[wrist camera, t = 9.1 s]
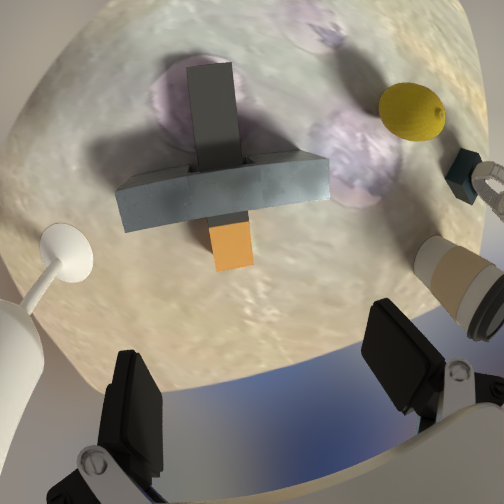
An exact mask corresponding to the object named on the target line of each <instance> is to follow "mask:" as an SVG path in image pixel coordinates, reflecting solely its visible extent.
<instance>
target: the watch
mask: <svg viewBox="0 0 504 504" xmlns="http://www.w3.org/2000/svg"><path fill="white" fill-rule="evenodd" d="M490 178H491V179H494V180H496V181H498V182H499V183H501V184H502V185H504V180H503V179H504V167H503V166H501V165H499V164H496V163H494V162H491V161H485V162H482V160H481V157H480V155H479V153H476V152H473V151H470V150H466V149H463V148H461V150H460V152H459V154H458V155H457V157H456V159H455V161H454V163H453V165H452V167H451V168H450V170H449V172H448V174H447V176H446V177H445V180H446V182H447V183H448V185H449V187H450V188H451V190H452V192H453V193H454V195H455V197H456V198H458V199H460V200H462V201H464V202H466V203H468V204H470V205H473V203H474V201H475V199H476V197H477V196H478V195H479V196H480V198H481V199H482V200H483V201H485V203H486V204H487V205H490V207H491V208H492V211H493V212H494V213H495V214H496V215H497V216H498V217H499V218H500V220H501V221H502V222H503V223H504V191H503V192H500V194H498V193H496V192H495V191H494V190H493V189H491V187H490V186H489V185H487V183H486V182H485V180H489V179H490ZM487 190H488V191H487ZM486 192H487V193H486ZM495 193H496V194H495ZM485 194H486V195H485ZM492 194H493V195H492ZM484 196H485V197H484ZM491 196H492V197H491ZM485 199H486V200H485ZM490 203H491V204H490Z"/></svg>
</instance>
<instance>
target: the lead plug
mask: <svg viewBox="0 0 504 504" xmlns="http://www.w3.org/2000/svg"><path fill="white" fill-rule="evenodd" d="M187 78H188V87H189V96H190V104H191V112H192V120H193V128H194V136H195V143H196V150H197V157H198V164H199V171H205V170H212V169H218V168H224V167H231V166H238V165H243V162H242V153H241V144H240V135H239V126H238V117H237V108H236V99H235V89H234V80H233V71H232V62H227V63H217V64H208V65H200V66H193V67H187ZM207 221H208V227H209V232H210V238H211V244H212V249H213V255H214V260H215V265H216V271H217V272H218V271H223V270H229V269H235V268H240V267H246V266H251V265H254V263H253V253H252V244H251V235H250V226H249V217H248V210H247V211H241V212H235V213H229V214H223V215H217V216H211V217H207Z"/></svg>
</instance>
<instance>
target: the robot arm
mask: <svg viewBox="0 0 504 504" xmlns="http://www.w3.org/2000/svg"><path fill="white" fill-rule="evenodd" d="M361 354H362V356H363V358H364V359H365V361H366V363H367V364H368V366H369V367H370V369H371V370H372V372H373V373H374V375H375V376H376V378H377V379H378V381H379V382H380V384H381V385H382V387H383V388H384V390H385V391H386V393H387V394H388V396H389V397H390V399H391V401H392V402H393V404H394V405H395V407H396V408H397V410H398V411H402V413H403V414H404V415H407V414H409V413H411V412H413V411H414V410H415V412H416V413H417V420H416V426H415V431H414V436H413V437H412V438H410V439H409V440H407V441H405V442H403V443H401V444H400V445H398V446H396V447H394V448H392V449H390V450H388V451H386V452H384V453H382V454H380V455H378V456H376V457H373V458H371V459H369V460H366V461H364V462H362V463H360V464H357V465H355V466H352V467H350V468H348V469H345V470H342V471H339V472H337V473H334V474H331V475H328V476H325V477H322V478H319V479H316V480H313V481H310V482H306V483H303V484H299V485H296V486H292V487H288V488H284V489H280V490H276V491H271V492H266V493H261V494H256V495H250V496H244V497H237V498H231V499H222V500H213V501H200V502H185V503H168V502H167V501H166V500H165V499H164V498H163V497H162V496H161V495H160V494H159V493H158V492H157V491H156V490H155V489H154V488H153V487H152V486H151V485H152V477H160V472H162V471H163V438H162V402H163V401H162V395H161V392H160V390H159V389H158V387H157V385H156V383H155V381H154V380H153V378H152V376H151V374H150V372H149V370H148V369H147V367H146V365H145V363H144V361H143V359H142V357H141V355H140V353H136V352H135V351H134V350H123V351H119V352H118V356H117V360H116V365H115V370H114V375H113V380H112V384H109V385H108V386H107V388H106V392H105V398H104V403H103V409H102V416H101V421H100V428H99V436H98V443H97V446H96V445H92V446H88V447H85V448H84V449H83V450H82V451H80V453H79V455H78V457H77V467H78V468H77V469H76V470H75V471H73V472H72V473H71V474H69V475H68V476H67V477H65V478H64V479H63V480H62V481H60V482H59V483H57V484H56V485H55V486H53V487H52V488H51V489H50V490H49V491H48V493H47V498H46V500H47V504H504V378H502V377H499V376H493V375H487V374H481V373H476V372H474V370H473V367H472V366H471V364H470V363H469V362H468V361H466V360H464V359H462V358H453V359H450V360H449V361H448V362H447V363H446V362H445V361H444V360H445V359H444V357H443V356H442V355H441V354H440V353H439V352H438V350H437V349H436V348H435V347H434V346H433V345H432V344H431V343H430V342H429V341H428V340H427V338H426V337H425V336H424V335H423V334H422V333H421V332H420V331H419V330H418V329H417V327H416V326H415V325H414V324H413V323H412V322H411V321H410V320H409V319H408V318H407V317H406V316H405V315H404V314H403V313H402V312H401V311H400V310H399V309H398V307H397V306H396V305H395V304H394V303H393V302H392V301H391V300H390V299H388V298H384V299H381V300H377V301H375V302H374V303H373V306H371V308H370V313H369V317H368V322H367V327H366V331H365V335H364V340H363V344H362V348H361Z"/></svg>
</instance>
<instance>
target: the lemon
mask: <svg viewBox="0 0 504 504" xmlns="http://www.w3.org/2000/svg"><path fill="white" fill-rule="evenodd" d="M379 115H380V117H381V120H382V122H383V124H384V125H385V127H386V128H387V129H388V130H389V131H390V132H391V133H393V134H395V135H396V136H398V137H400V138H402V139H406V140H409V141H426V140H430V139H432V138H434V137H436V136H437V135H438V134H439V133H440V132H441V131H442V129H443V127H444V124H445V119H446V116H445V109H444V106H443V104H442V102H441V100H440V99H439V97H438V96H437V95H436V94H435V93H434V92H433V91H431V90H430V89H428V88H427V87H424V86H422V85H418V84H415V83H398V84H395V85H393V86H391V87H389V88H387V89H386V90H385V91H384V92H383V94H382V96H381V97H380V101H379Z"/></svg>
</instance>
